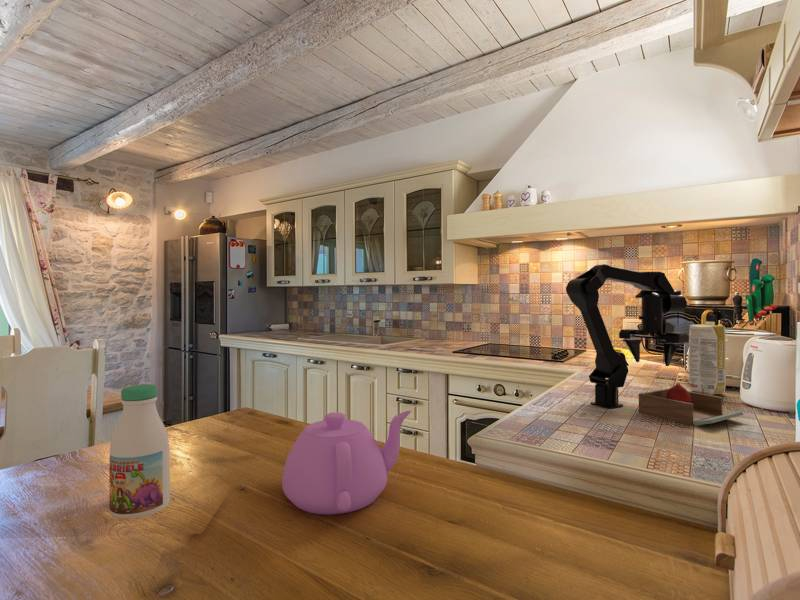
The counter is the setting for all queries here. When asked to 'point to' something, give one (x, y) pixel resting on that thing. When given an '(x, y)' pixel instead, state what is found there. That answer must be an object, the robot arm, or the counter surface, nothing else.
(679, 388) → the onion
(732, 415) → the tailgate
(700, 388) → the juice carton
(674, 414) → the crate
